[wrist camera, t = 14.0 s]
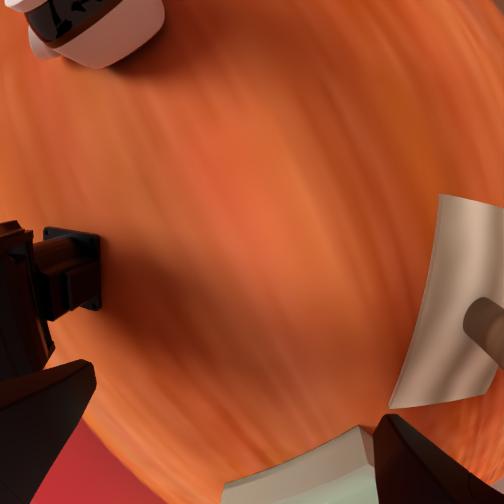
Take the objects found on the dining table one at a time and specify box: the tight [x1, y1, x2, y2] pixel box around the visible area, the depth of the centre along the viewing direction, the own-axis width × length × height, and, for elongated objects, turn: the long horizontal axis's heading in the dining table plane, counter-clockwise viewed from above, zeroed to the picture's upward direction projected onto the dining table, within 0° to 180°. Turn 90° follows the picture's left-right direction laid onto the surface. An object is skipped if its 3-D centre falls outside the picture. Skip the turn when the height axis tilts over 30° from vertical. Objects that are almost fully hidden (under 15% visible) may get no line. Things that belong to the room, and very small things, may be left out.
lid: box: [388, 194, 504, 409], centre depth 15 cm, size 13×19×9 cm
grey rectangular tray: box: [220, 425, 379, 504], centre depth 22 cm, size 12×18×5 cm, turn 132°
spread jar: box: [5, 0, 165, 69], centre depth 11 cm, size 12×11×12 cm
